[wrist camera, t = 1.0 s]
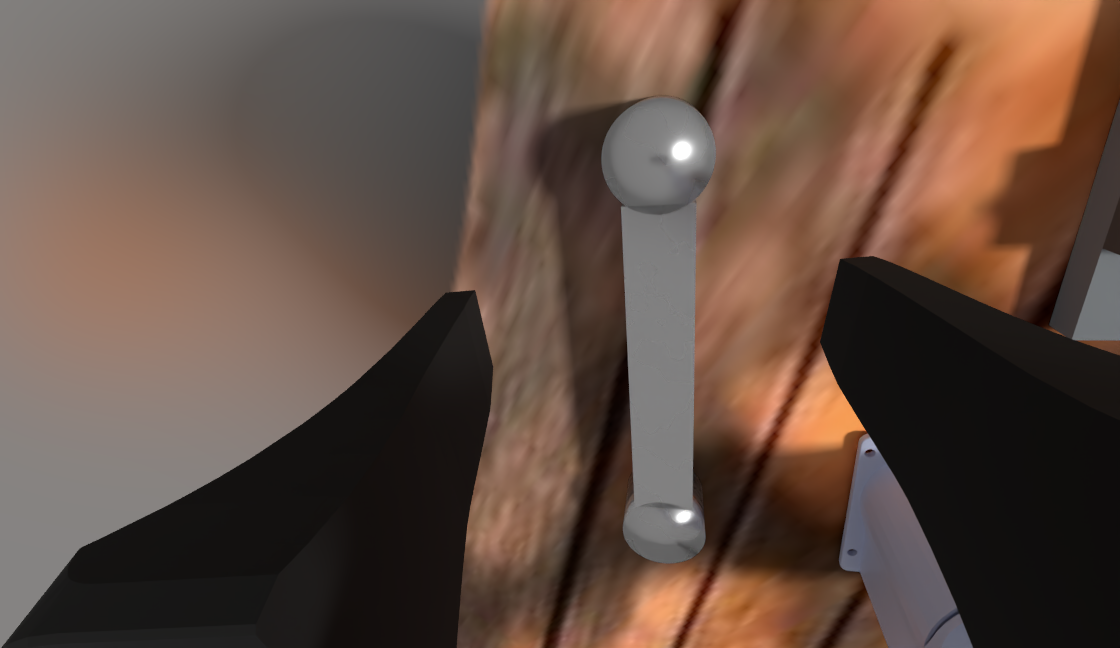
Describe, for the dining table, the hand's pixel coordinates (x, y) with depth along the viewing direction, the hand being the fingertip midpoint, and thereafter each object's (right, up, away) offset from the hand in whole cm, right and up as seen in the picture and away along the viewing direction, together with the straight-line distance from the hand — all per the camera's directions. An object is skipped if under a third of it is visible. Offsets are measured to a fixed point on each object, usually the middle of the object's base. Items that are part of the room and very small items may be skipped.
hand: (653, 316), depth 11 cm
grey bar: (+3, -1, +17) cm, 17 cm away
